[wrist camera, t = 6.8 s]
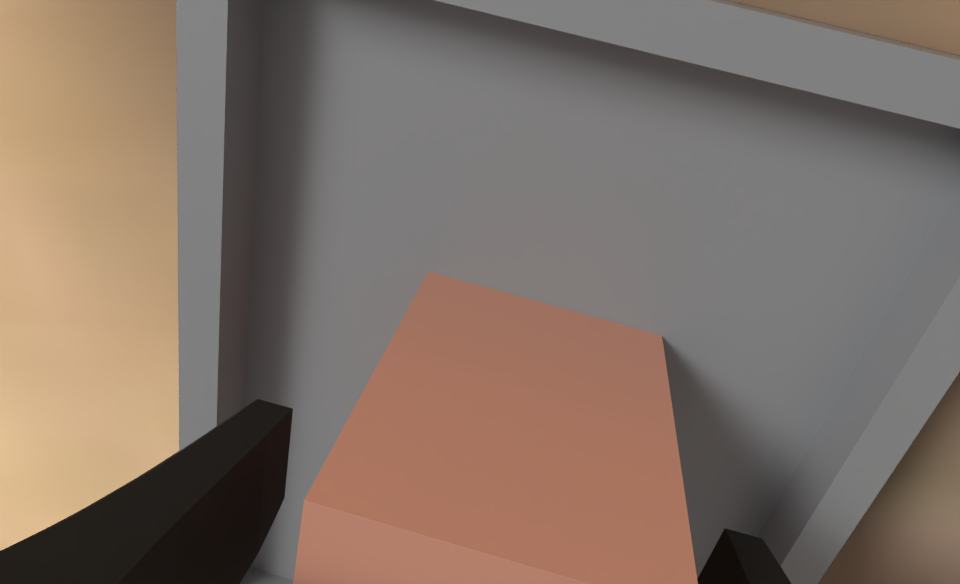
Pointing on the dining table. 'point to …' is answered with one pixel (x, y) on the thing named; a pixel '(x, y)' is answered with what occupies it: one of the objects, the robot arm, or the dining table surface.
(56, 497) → the dining table surface
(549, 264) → the grey tray
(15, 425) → the dining table surface
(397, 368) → the tan block
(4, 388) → the dining table surface
